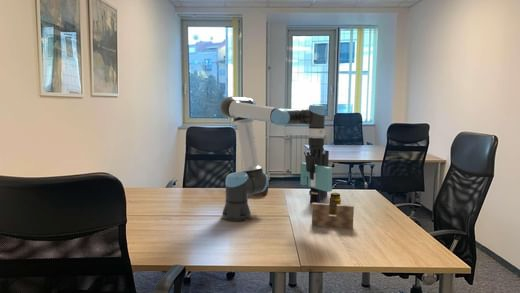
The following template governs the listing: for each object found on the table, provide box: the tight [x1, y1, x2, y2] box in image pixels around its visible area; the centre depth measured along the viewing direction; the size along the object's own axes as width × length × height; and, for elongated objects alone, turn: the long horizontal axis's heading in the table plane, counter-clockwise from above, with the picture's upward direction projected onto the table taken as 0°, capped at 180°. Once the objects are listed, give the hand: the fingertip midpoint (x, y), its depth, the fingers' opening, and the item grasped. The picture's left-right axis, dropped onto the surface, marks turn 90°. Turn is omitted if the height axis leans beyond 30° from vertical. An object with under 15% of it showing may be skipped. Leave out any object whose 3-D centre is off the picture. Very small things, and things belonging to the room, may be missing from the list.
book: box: [308, 150, 330, 203], centre depth 244 cm, size 24×6×30 cm, turn 157°
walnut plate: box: [311, 202, 355, 229], centre depth 190 cm, size 20×2×11 cm, turn 78°
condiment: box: [328, 192, 342, 215], centre depth 209 cm, size 7×8×12 cm
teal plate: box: [300, 162, 333, 193], centre depth 184 cm, size 20×2×11 cm, turn 33°
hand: (315, 185), depth 185 cm, fingers closed on teal plate, 2 cm apart
